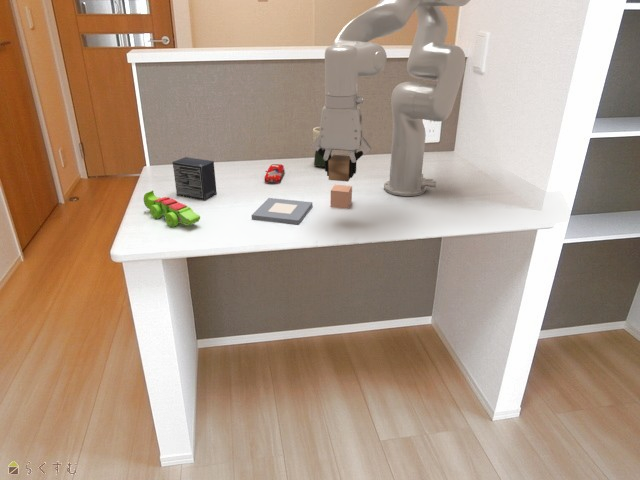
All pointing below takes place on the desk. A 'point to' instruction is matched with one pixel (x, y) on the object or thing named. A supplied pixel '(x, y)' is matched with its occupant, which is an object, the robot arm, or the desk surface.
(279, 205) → the board
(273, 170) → the race car
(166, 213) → the toy crocodile
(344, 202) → the terracotta cube
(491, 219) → the desk surface
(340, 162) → the walnut cube
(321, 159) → the character mug
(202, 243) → the desk surface
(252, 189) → the desk surface
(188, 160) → the small box
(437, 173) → the desk surface
